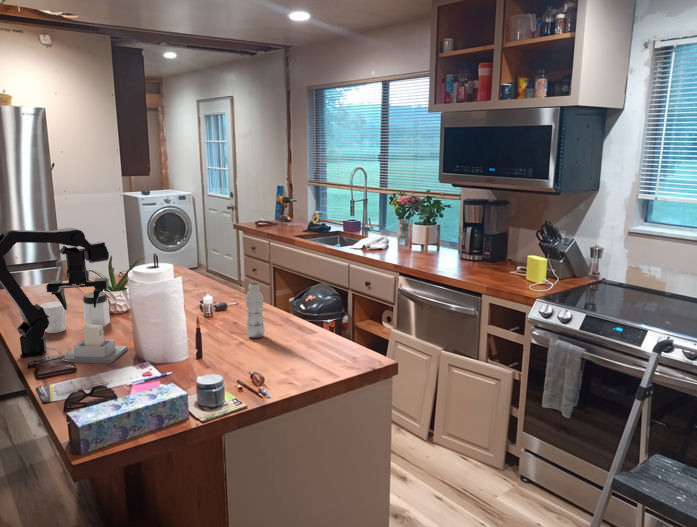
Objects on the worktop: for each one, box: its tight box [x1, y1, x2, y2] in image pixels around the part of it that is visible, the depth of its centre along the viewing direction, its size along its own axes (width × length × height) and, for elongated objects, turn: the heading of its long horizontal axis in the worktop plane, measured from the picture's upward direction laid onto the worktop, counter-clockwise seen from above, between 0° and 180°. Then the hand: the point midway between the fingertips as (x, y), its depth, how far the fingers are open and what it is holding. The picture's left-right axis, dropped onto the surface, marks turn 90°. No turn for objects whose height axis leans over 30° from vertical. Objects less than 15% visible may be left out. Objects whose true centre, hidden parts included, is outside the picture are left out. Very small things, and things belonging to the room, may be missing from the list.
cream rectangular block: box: [82, 324, 105, 347], centre depth 181 cm, size 6×3×9 cm, turn 87°
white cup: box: [40, 300, 67, 334], centre depth 205 cm, size 8×8×10 cm
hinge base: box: [61, 338, 128, 364], centre depth 182 cm, size 16×12×4 cm
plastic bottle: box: [244, 282, 266, 339], centre depth 200 cm, size 6×7×20 cm
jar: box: [82, 291, 111, 328], centre depth 211 cm, size 9×8×12 cm
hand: (80, 308), depth 193 cm, fingers open, 9 cm apart
